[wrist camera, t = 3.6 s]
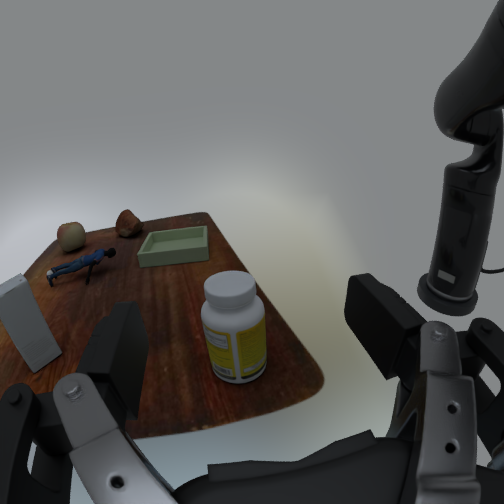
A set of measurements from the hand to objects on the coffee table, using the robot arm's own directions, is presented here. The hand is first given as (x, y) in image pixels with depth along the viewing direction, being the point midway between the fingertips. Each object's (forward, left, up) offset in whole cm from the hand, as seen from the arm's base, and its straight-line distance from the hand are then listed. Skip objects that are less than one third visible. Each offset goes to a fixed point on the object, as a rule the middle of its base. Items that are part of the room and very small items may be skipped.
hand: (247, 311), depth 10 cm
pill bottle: (0, -14, -18) cm, 22 cm away
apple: (+42, -60, -18) cm, 75 cm away
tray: (+10, -50, -17) cm, 54 cm away
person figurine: (+31, -42, -18) cm, 55 cm away
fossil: (+26, -68, -18) cm, 75 cm away
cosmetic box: (+28, -16, -18) cm, 37 cm away
